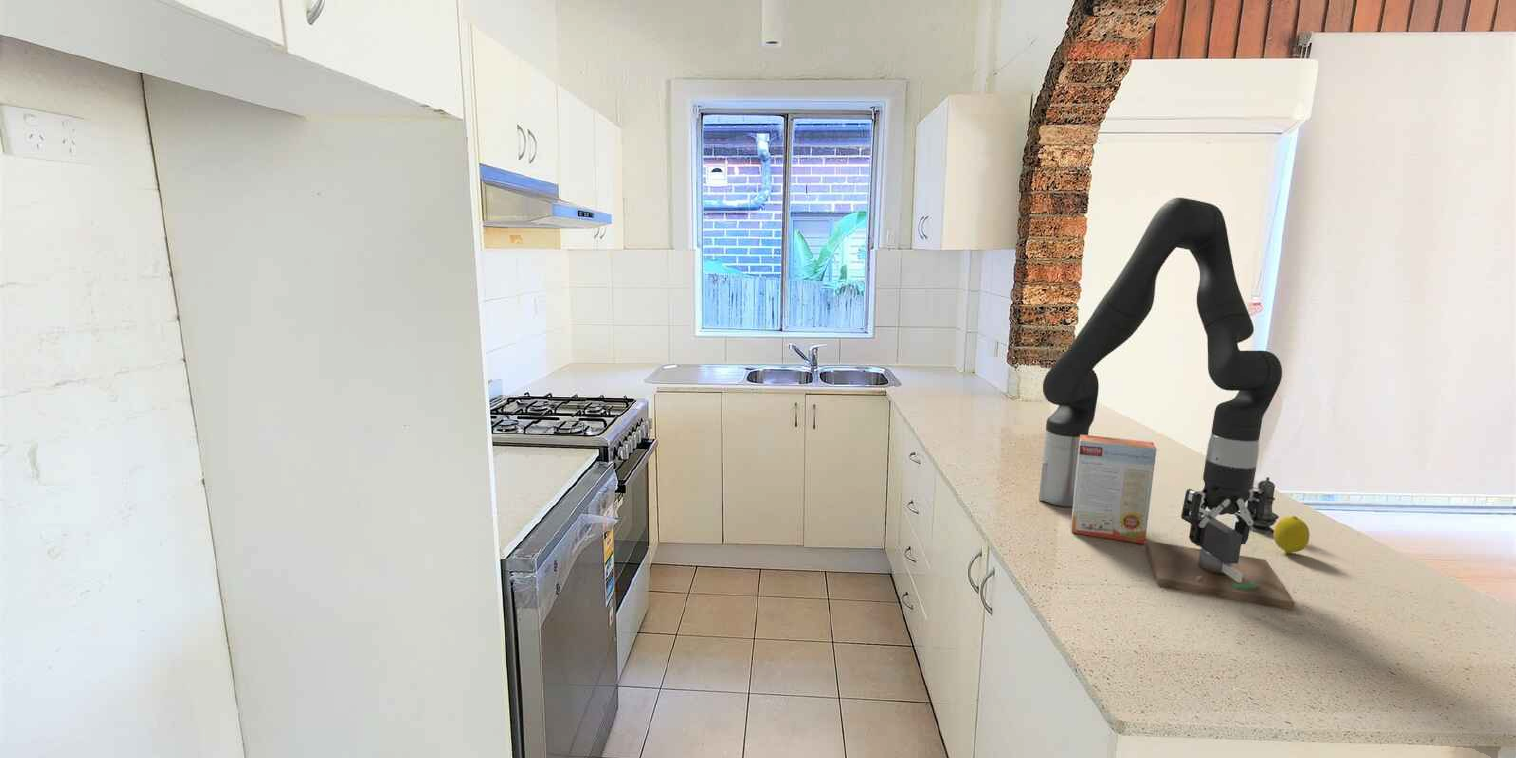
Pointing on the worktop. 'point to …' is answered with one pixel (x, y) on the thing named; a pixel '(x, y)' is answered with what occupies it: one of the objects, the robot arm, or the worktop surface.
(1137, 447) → the cracker box
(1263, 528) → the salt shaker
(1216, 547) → the dial pointer knob
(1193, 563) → the dial plate
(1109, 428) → the worktop surface
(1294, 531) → the lemon
